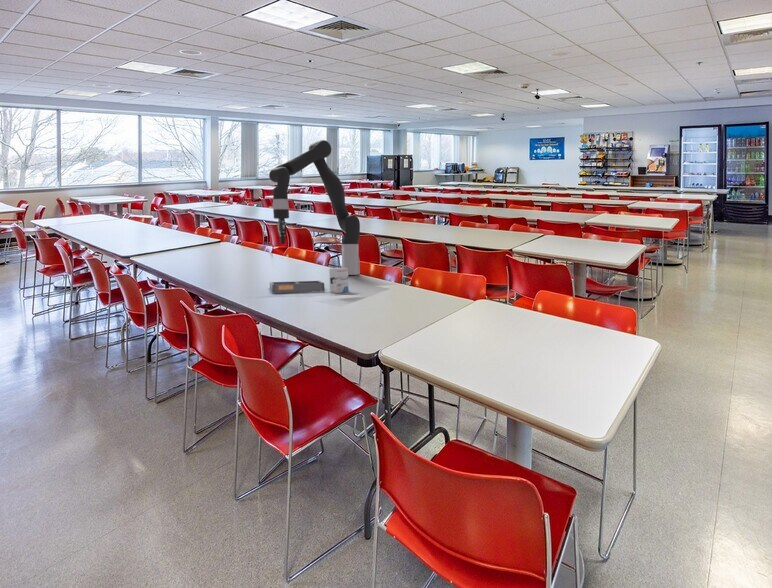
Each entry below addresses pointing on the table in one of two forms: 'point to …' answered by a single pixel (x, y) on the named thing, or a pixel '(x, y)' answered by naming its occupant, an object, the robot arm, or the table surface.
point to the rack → (296, 286)
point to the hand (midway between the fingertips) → (282, 243)
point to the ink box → (338, 280)
